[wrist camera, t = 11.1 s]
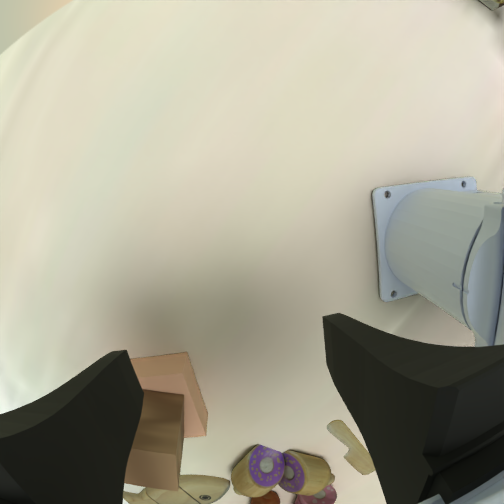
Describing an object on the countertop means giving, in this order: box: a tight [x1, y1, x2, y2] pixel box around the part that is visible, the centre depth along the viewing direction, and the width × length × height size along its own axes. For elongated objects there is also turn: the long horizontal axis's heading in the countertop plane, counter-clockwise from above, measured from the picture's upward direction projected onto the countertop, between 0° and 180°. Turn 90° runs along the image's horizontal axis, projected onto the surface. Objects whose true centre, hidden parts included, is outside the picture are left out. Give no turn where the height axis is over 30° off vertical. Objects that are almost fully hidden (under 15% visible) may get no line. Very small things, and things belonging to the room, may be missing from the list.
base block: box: [130, 352, 208, 438], centre depth 21 cm, size 6×6×3 cm
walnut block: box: [124, 389, 184, 491], centre depth 17 cm, size 4×4×6 cm
